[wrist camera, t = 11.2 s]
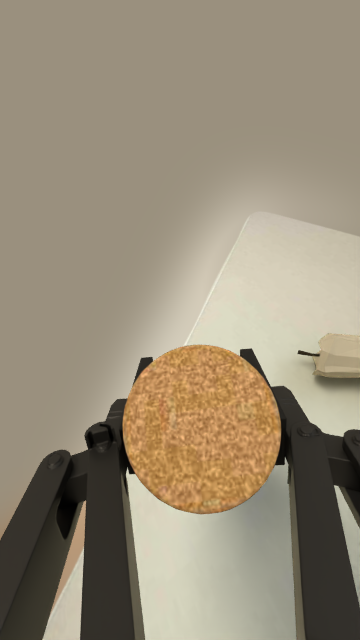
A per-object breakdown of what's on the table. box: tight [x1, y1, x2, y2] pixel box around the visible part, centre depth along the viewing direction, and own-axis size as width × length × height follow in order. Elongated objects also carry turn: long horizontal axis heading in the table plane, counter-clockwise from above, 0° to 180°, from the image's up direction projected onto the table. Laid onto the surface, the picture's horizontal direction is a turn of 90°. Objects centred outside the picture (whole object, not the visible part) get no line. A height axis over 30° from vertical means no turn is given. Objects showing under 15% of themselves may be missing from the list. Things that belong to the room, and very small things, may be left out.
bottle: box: [123, 345, 281, 514], centre depth 15 cm, size 6×6×15 cm
